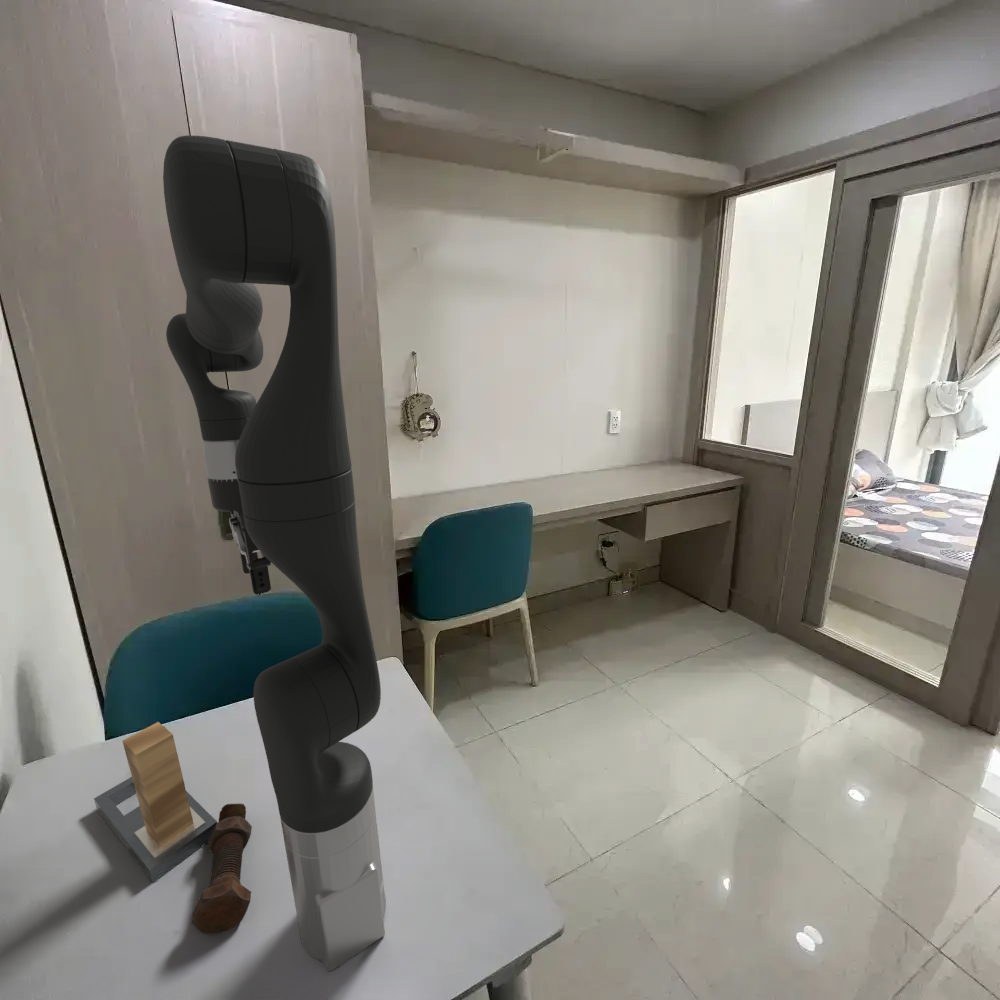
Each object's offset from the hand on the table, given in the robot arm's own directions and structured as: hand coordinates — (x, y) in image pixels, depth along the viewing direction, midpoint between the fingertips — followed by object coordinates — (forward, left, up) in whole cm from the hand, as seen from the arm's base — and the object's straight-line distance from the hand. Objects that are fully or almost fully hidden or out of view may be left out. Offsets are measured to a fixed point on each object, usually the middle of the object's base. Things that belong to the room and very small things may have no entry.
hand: (256, 581), depth 73 cm
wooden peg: (-8, +16, -28) cm, 33 cm away
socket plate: (-3, +17, -30) cm, 34 cm away
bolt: (-16, +10, -30) cm, 36 cm away
